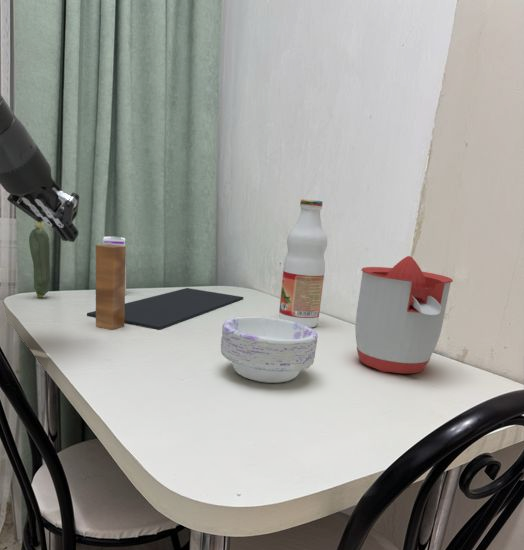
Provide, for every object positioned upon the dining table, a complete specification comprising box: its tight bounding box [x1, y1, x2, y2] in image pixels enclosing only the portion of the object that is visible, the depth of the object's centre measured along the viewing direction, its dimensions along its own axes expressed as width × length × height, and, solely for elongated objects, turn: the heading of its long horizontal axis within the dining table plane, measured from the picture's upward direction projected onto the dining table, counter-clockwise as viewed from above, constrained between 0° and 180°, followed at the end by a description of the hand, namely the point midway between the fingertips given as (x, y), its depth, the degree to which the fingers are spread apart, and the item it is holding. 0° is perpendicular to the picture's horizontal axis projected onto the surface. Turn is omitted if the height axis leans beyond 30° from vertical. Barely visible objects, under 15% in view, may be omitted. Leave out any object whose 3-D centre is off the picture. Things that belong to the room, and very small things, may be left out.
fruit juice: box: [278, 199, 328, 329], centre depth 115 cm, size 9×9×28 cm
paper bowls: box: [220, 315, 319, 384], centre depth 81 cm, size 15×15×8 cm
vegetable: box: [28, 217, 51, 299], centre depth 117 cm, size 4×4×20 cm
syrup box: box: [102, 236, 127, 296], centre depth 132 cm, size 6×6×14 cm
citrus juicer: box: [354, 255, 454, 374], centre depth 90 cm, size 16×17×20 cm
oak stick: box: [95, 244, 127, 330], centre depth 99 cm, size 4×4×16 cm
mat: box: [86, 287, 244, 331], centre depth 125 cm, size 44×18×1 cm, turn 159°
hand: (71, 237), depth 87 cm, fingers closed
